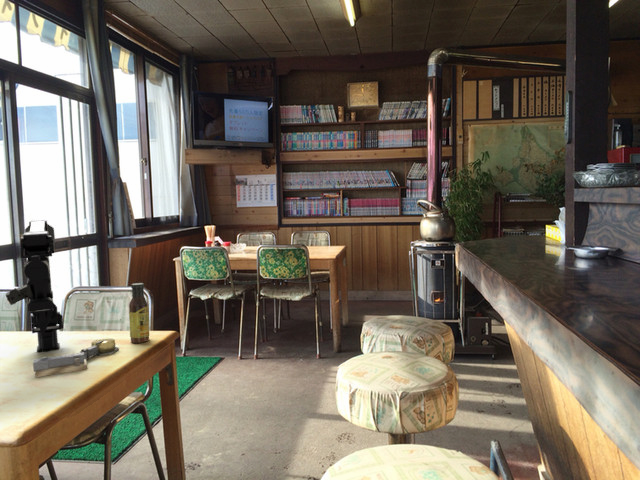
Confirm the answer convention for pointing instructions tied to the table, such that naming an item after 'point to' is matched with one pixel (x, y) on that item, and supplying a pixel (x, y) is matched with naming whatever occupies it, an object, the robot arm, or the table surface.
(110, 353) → the nut base
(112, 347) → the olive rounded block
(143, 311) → the sauce bottle
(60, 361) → the grey bar
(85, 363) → the cradle
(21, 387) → the table surface
